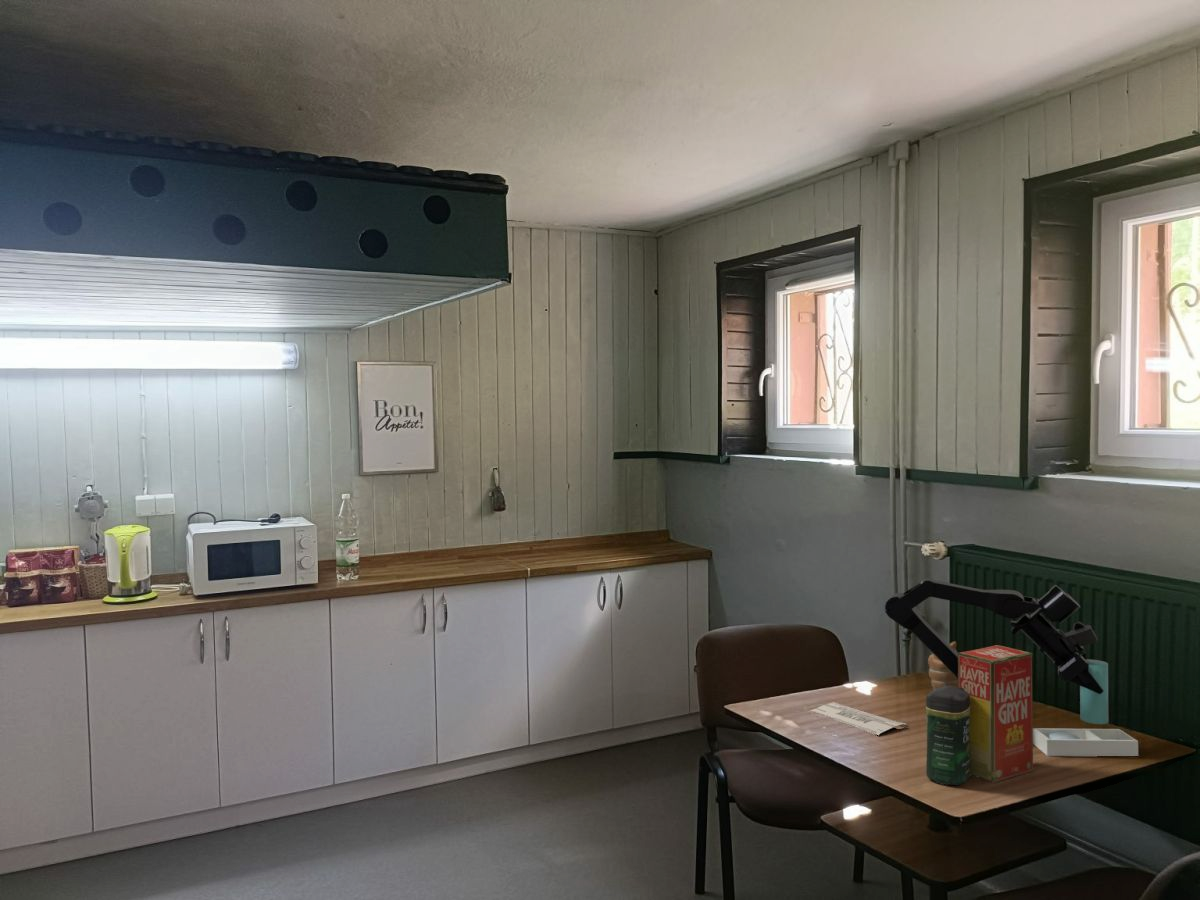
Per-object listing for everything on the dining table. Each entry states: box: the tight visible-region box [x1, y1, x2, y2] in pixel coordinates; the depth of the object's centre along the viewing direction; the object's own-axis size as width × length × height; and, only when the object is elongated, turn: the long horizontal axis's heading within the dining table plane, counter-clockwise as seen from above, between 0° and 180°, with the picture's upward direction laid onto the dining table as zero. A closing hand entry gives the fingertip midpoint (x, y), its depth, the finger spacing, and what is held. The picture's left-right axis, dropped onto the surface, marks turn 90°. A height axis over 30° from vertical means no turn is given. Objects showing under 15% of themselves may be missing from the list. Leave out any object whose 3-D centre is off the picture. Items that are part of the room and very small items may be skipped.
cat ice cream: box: [927, 640, 958, 690], centre depth 226 cm, size 9×8×18 cm
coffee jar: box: [925, 685, 972, 786], centre depth 181 cm, size 10×8×19 cm
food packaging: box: [957, 644, 1034, 783], centre depth 185 cm, size 13×9×25 cm
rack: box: [1033, 727, 1139, 757], centre depth 195 cm, size 19×8×4 cm, turn 85°
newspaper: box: [810, 701, 907, 736], centre depth 220 cm, size 23×12×2 cm, turn 33°
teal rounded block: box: [1079, 658, 1109, 725], centre depth 196 cm, size 6×6×13 cm
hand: (1100, 689), depth 196 cm, fingers closed on teal rounded block, 5 cm apart
